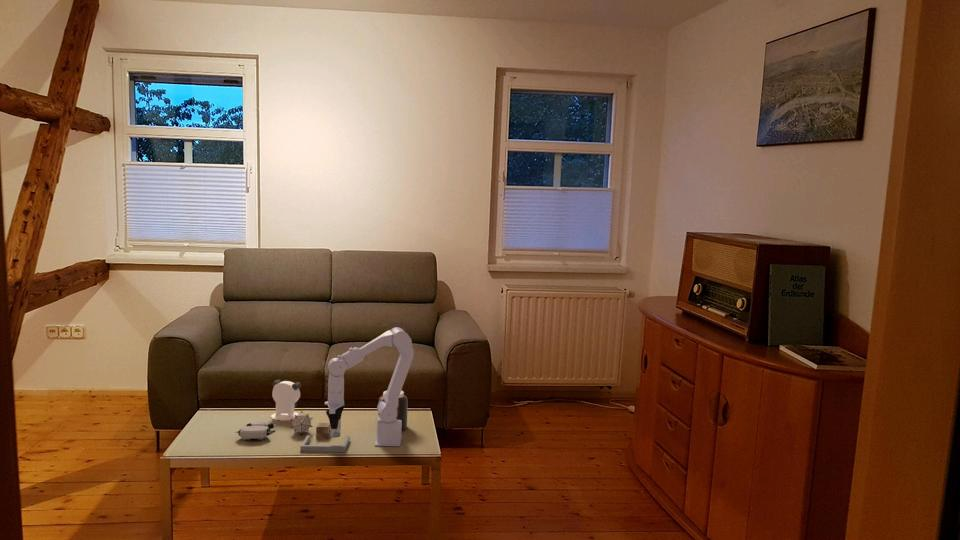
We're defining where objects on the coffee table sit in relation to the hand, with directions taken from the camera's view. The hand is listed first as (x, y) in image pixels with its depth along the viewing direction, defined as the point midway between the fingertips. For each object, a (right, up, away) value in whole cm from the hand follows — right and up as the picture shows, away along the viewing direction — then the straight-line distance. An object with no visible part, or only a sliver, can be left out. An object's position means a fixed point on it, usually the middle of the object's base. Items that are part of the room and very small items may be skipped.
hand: (335, 426), depth 226 cm
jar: (+18, -7, +23) cm, 30 cm away
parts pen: (-4, -8, +1) cm, 8 cm away
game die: (-17, -6, +14) cm, 22 cm away
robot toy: (-32, -6, +9) cm, 34 cm away
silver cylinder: (0, -4, 0) cm, 3 cm away
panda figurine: (-29, -4, +32) cm, 43 cm away
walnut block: (-7, -7, +11) cm, 15 cm away
